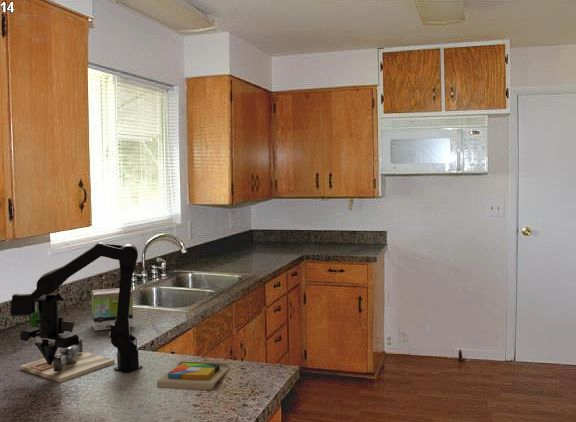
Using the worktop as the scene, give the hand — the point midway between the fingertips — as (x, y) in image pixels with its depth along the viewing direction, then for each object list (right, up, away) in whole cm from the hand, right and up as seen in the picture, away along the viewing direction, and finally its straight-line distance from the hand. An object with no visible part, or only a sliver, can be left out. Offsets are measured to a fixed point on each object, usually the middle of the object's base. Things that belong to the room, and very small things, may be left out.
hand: (50, 364), depth 180 cm
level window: (-4, -2, +5) cm, 7 cm away
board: (+2, -3, +9) cm, 9 cm away
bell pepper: (-26, 0, +55) cm, 61 cm away
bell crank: (-1, -1, +8) cm, 8 cm away
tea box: (+3, 0, +56) cm, 56 cm away
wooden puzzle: (+45, -4, -2) cm, 45 cm away
